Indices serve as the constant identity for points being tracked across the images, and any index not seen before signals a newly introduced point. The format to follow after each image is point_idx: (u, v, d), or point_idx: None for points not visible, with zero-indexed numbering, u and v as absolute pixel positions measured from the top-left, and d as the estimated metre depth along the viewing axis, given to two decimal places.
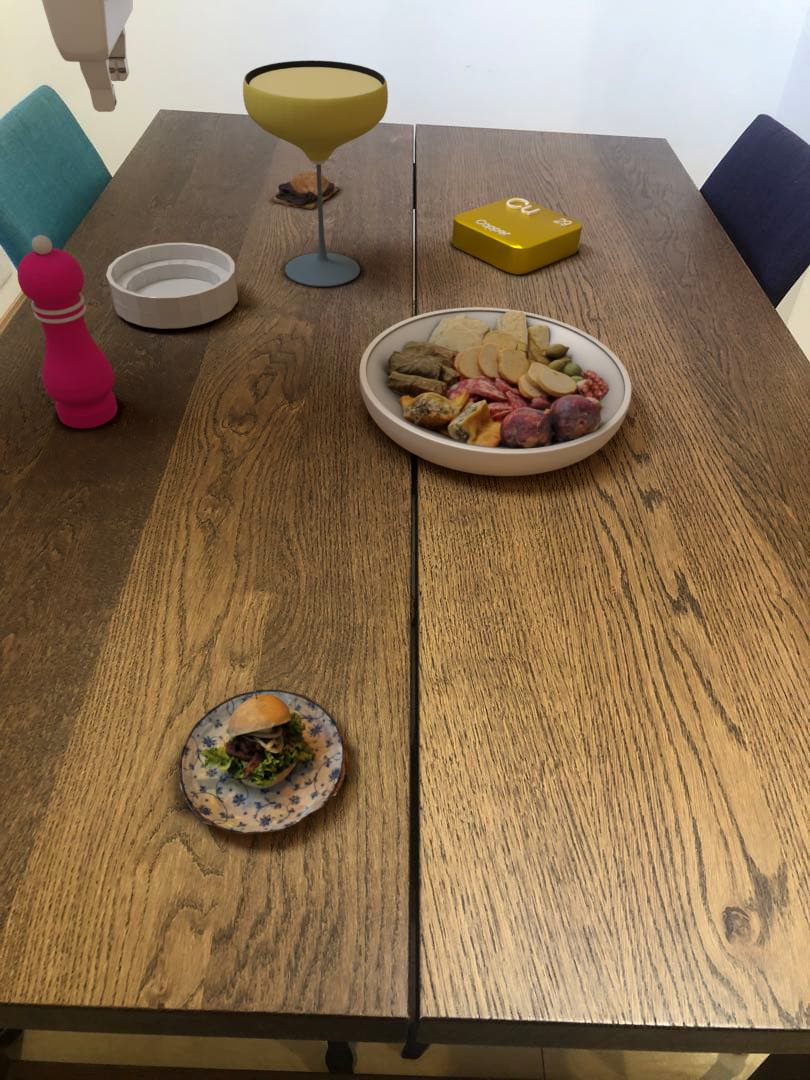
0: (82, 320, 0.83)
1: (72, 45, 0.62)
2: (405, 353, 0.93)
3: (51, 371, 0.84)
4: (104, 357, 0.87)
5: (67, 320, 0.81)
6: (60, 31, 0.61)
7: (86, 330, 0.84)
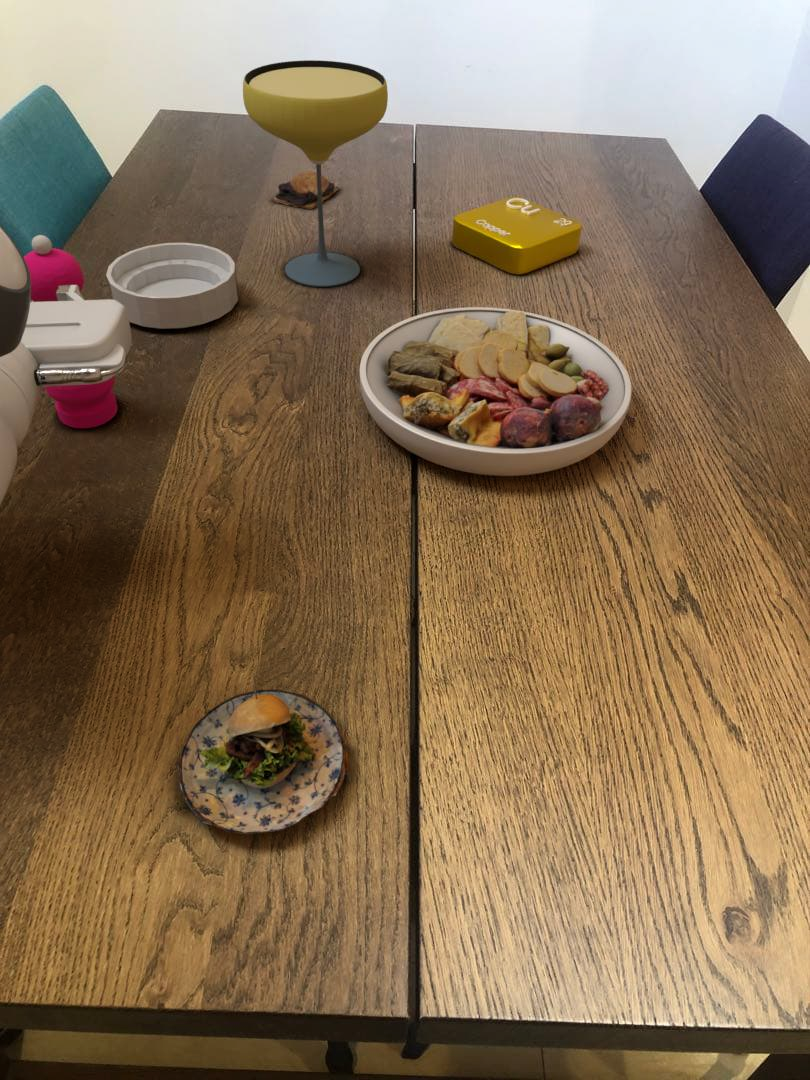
0: None
1: None
2: (405, 353, 0.93)
3: None
4: None
5: None
6: None
7: None
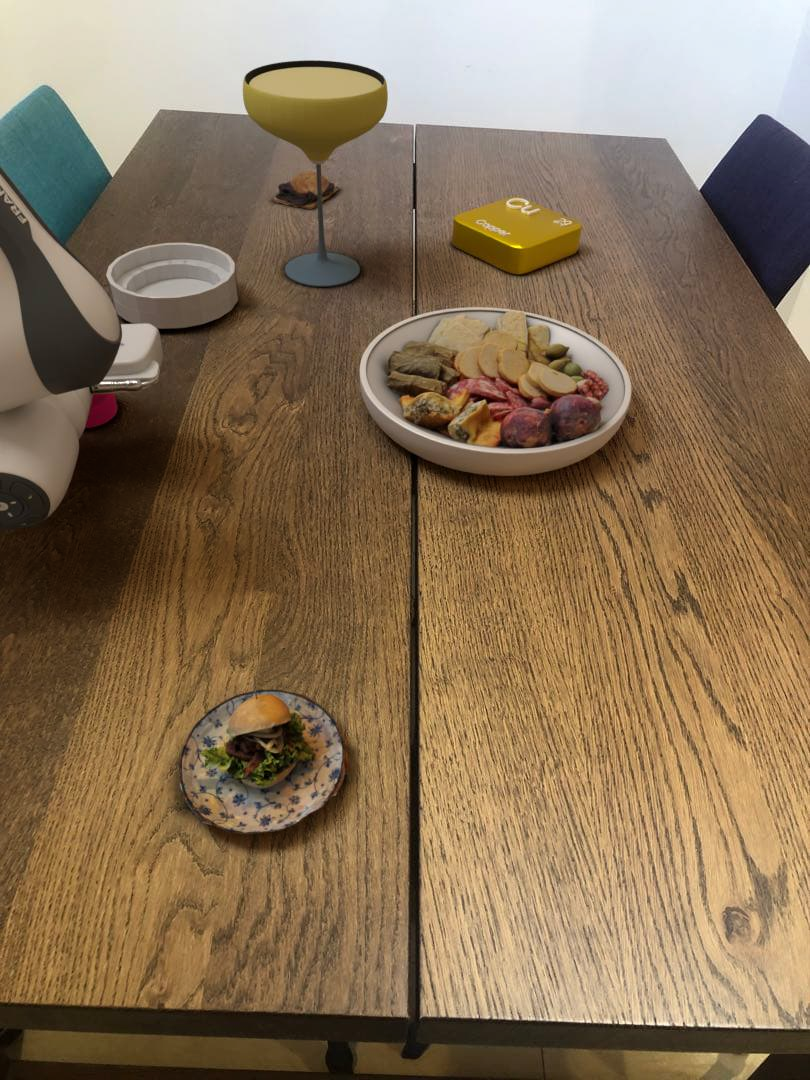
0: None
1: None
2: (405, 353, 0.93)
3: None
4: None
5: None
6: None
7: None
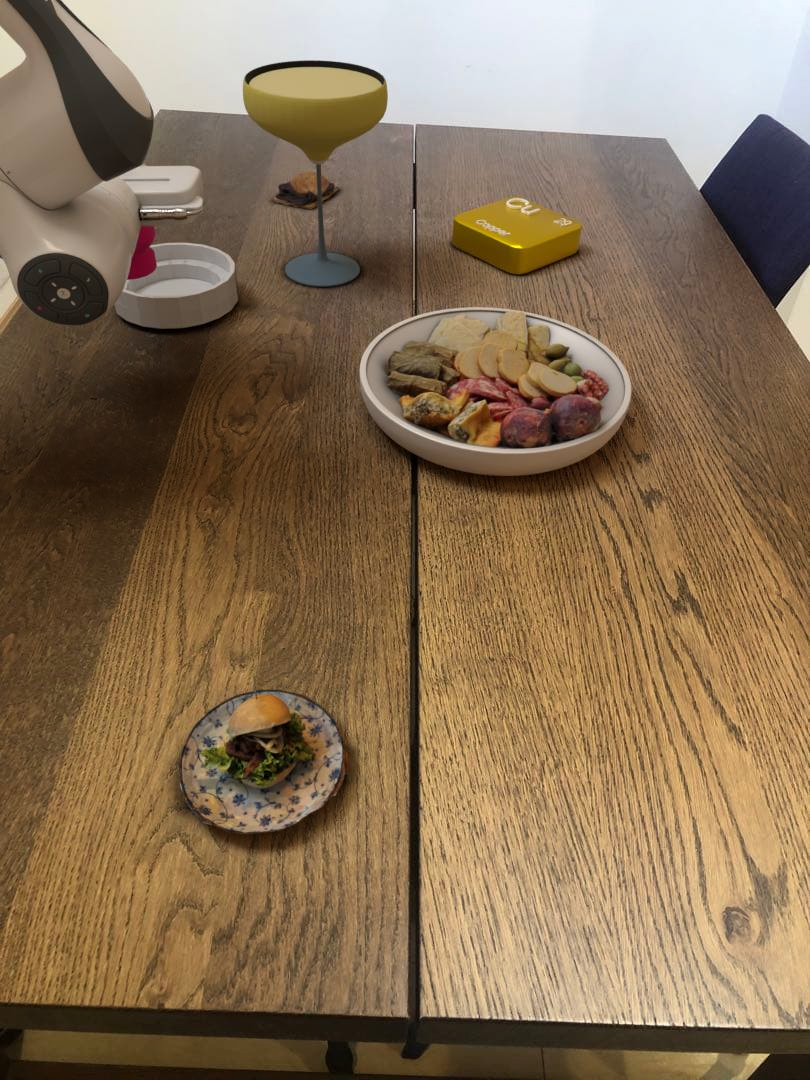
0: None
1: None
2: (405, 353, 0.93)
3: None
4: None
5: None
6: None
7: None
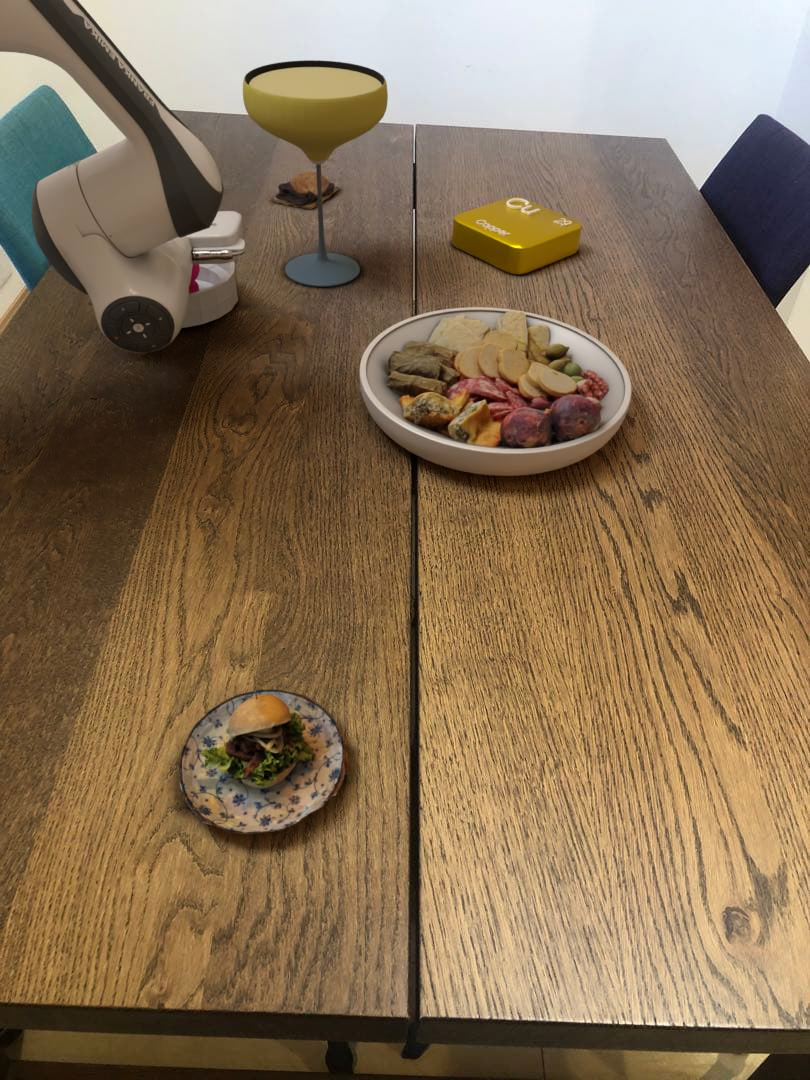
0: None
1: None
2: (405, 353, 0.93)
3: None
4: None
5: None
6: None
7: None
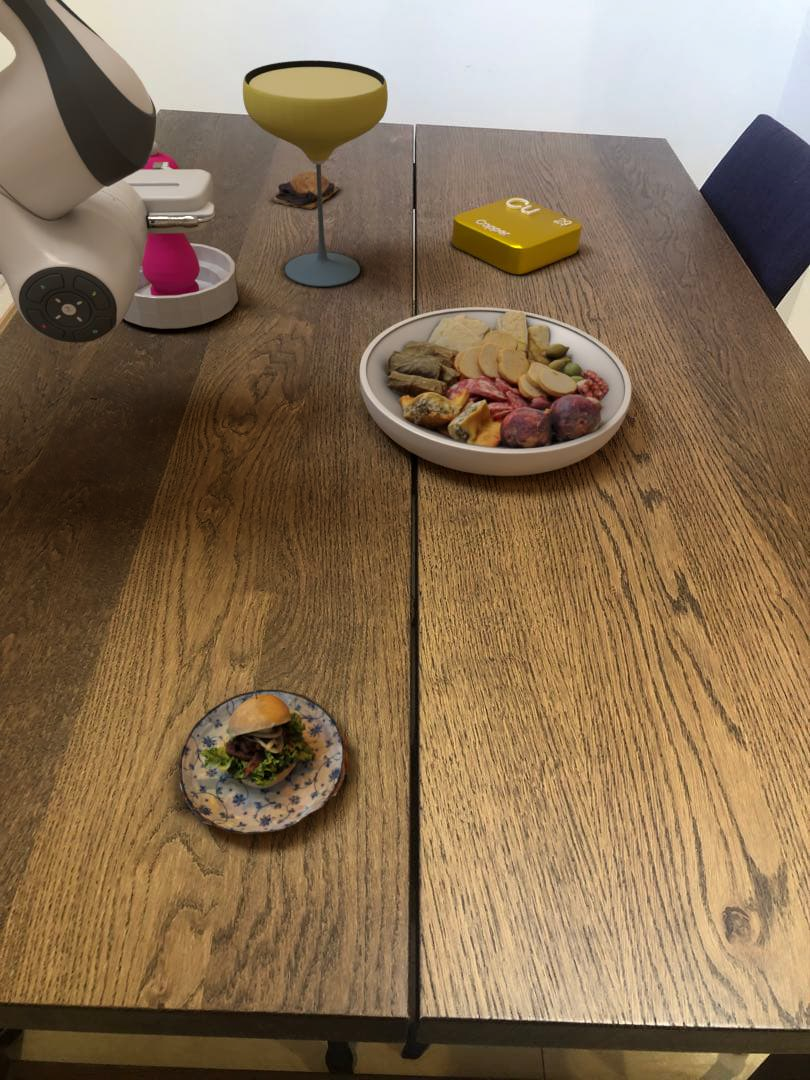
0: None
1: None
2: (405, 353, 0.93)
3: (151, 258, 1.03)
4: (192, 249, 1.05)
5: None
6: None
7: None
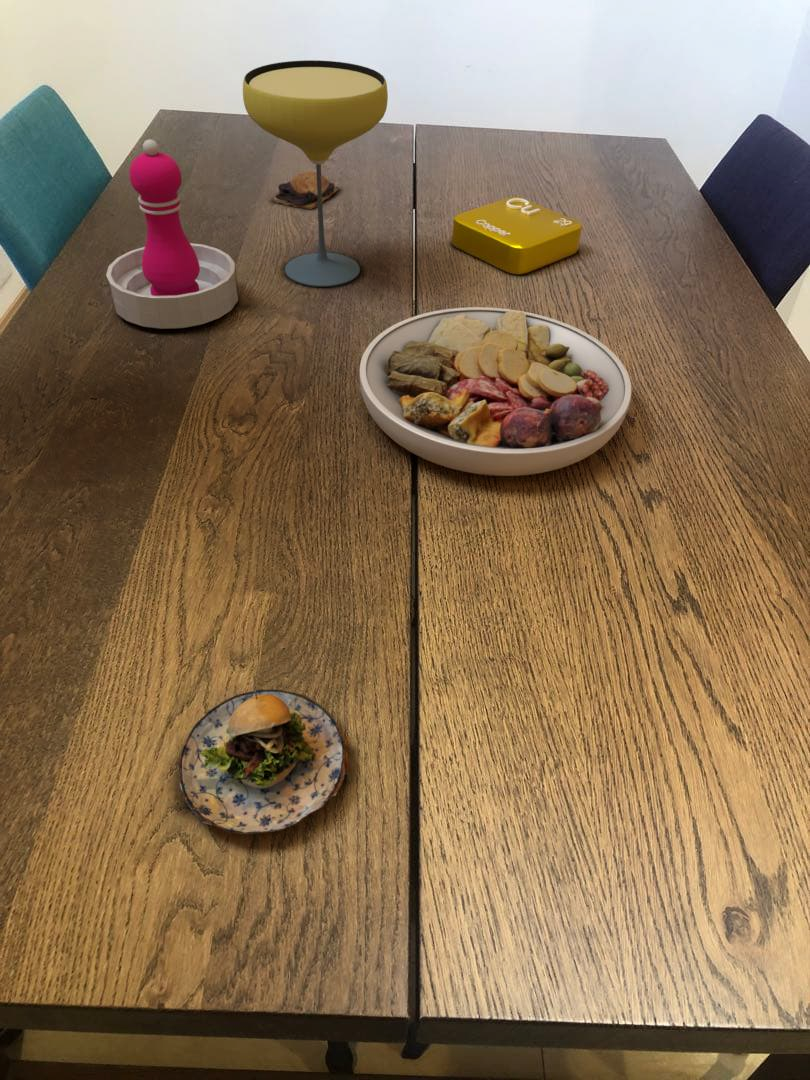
0: (178, 214, 1.01)
1: None
2: (405, 353, 0.93)
3: (151, 258, 1.03)
4: (192, 249, 1.05)
5: (168, 212, 0.99)
6: None
7: (180, 224, 1.03)
